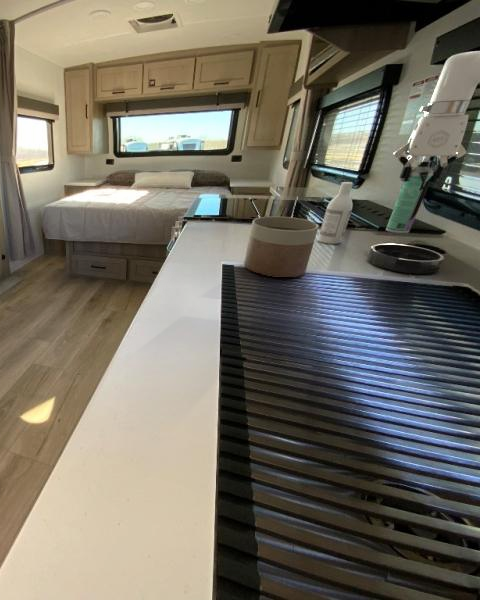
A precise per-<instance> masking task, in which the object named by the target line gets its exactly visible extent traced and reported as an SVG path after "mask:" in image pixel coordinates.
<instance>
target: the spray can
mask: <svg viewBox="0 0 480 600" xmlns="http://www.w3.org/2000/svg"><path fill="white" fill-rule="evenodd" d="M429 163H430V161H428V160H427V161H426V160H425V161H420V163H419V164H418V165H416V167H413V168H412V170H411V172H410V175H409V177H408V180H407V181H406V182H403V184H402V186H401V189H400V191H399V194H398V197H397V199H396V202H395V204H394V206H393V209H392V212H391V215H390V217H389V220H388V222H387V225H386V228H385V231H387V232H389V233H395V234H409V233H410V231H411V229H412V226H413V224H414V221H415V219H416V218H417V214H418V212H419V209H420V207H421V205H422V203H423V201H424V199H425V195H426V193H427V191H428V188H429V186H430V184H431V182H430V181H431V179H432V177H433V172H434V171H433V170H432V169H433V168H431V166H430V165H429Z"/></svg>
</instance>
